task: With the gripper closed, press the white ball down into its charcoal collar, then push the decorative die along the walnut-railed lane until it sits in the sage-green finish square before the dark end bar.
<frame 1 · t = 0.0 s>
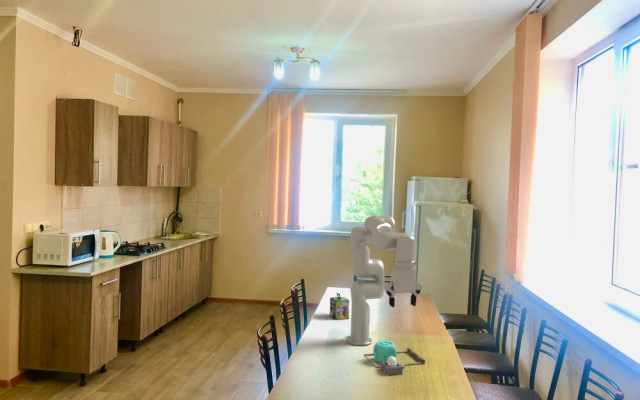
hand: (402, 305, 185), 31 cm above the table, tool pointing down, fingers open, 9 cm apart
white ball: (391, 361, 194), point 4 cm above the table, slide at 0.0 cm
collar: (391, 371, 194), on the table
lane: (393, 359, 207), on the table
decorative dice: (384, 360, 206), on the table
chalk box: (339, 317, 269), on the table
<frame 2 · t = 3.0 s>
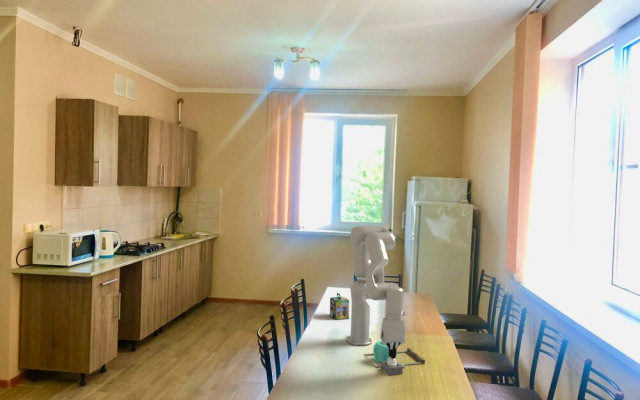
hand: (392, 357, 194), 6 cm above the table, tool pointing down, fingers closed
white ball: (391, 361, 194), point 4 cm above the table, slide at 0.2 cm, touching gripper
everything else where it was.
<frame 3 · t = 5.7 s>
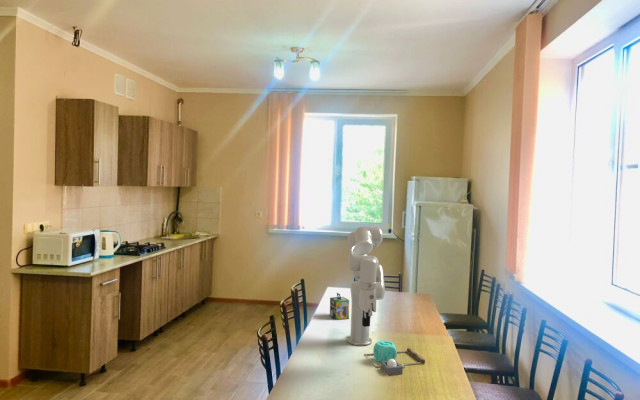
hand: (366, 325, 202), 17 cm above the table, tool pointing down, fingers closed
white ball: (391, 364, 194), point 3 cm above the table, slide at 1.1 cm
everything else where it was.
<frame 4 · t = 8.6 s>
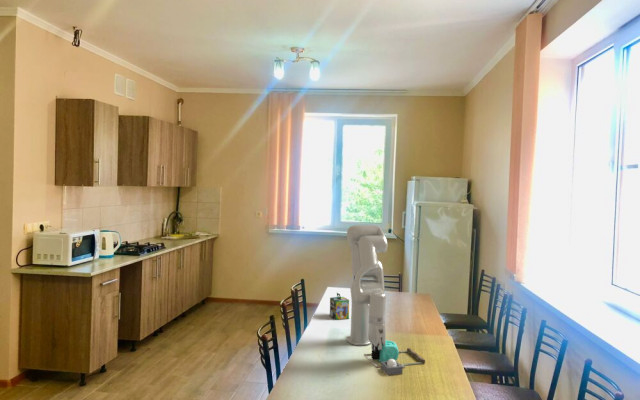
hand: (375, 358, 204), 1 cm above the table, tool pointing down, fingers closed
decorative dice: (386, 360, 206), on the table, touching gripper
everything else where it was.
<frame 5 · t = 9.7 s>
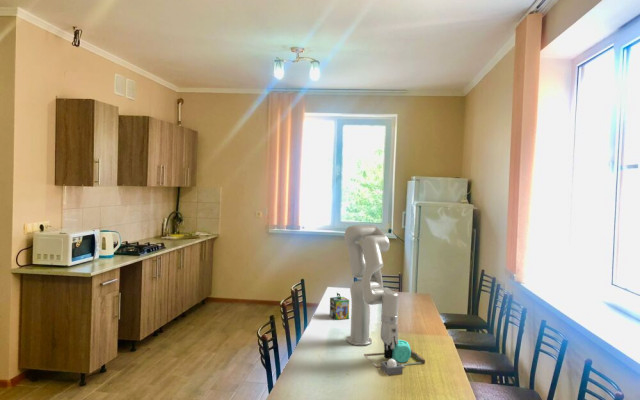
hand: (387, 357, 206), 1 cm above the table, tool pointing down, fingers closed
decorative dice: (399, 359, 207), on the table, touching gripper
everything else where it was.
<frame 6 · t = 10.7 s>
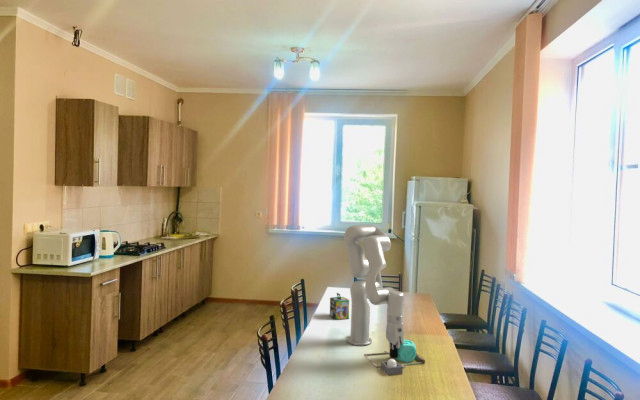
hand: (393, 357, 207), 1 cm above the table, tool pointing down, fingers closed
decorative dice: (404, 359, 208), on the table, touching gripper
everything else where it was.
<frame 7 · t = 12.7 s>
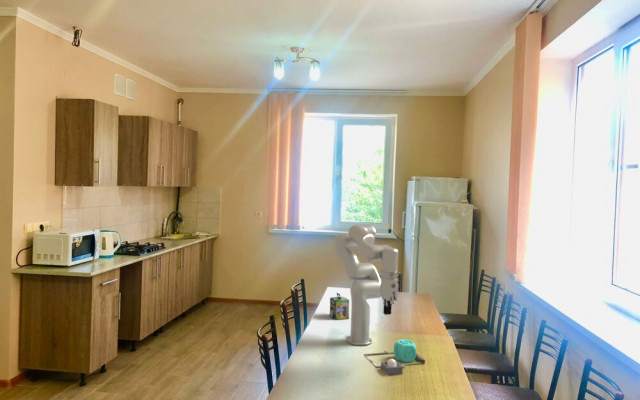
hand: (387, 313, 205), 22 cm above the table, tool pointing down, fingers closed
decorative dice: (404, 359, 208), on the table
everything else where it was.
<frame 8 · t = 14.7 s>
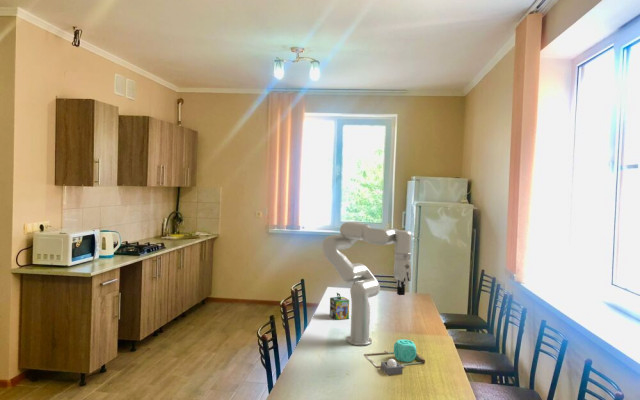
hand: (400, 294, 212), 29 cm above the table, tool pointing down, fingers closed
nothing on the table moved.
at the end: decorative dice inside the target area (1.2 cm from its centre), on the table; white ball slide at 1.1 cm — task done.
